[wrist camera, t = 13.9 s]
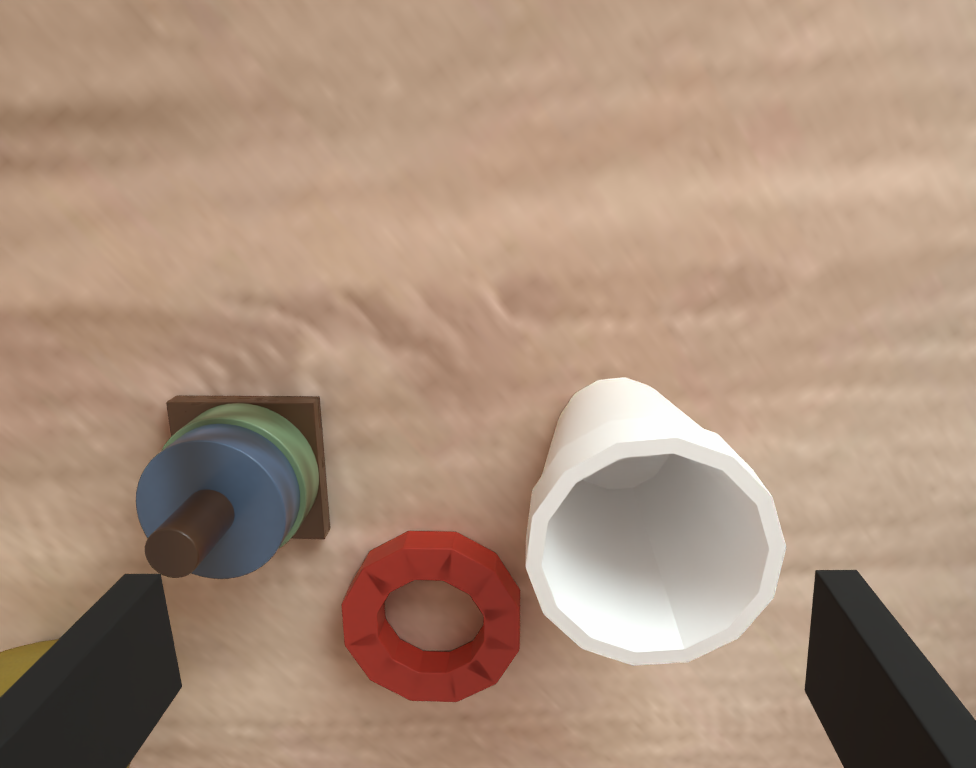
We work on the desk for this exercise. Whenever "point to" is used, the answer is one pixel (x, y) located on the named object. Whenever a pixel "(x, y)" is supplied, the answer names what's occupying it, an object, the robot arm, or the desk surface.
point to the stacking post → (233, 484)
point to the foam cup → (648, 530)
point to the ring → (432, 670)
